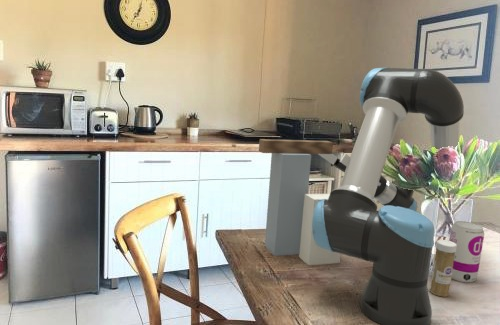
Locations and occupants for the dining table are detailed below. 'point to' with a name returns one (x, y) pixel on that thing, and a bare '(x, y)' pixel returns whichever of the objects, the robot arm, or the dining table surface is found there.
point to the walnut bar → (295, 146)
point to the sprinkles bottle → (443, 267)
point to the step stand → (293, 211)
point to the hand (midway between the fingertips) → (331, 153)
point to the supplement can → (466, 250)
